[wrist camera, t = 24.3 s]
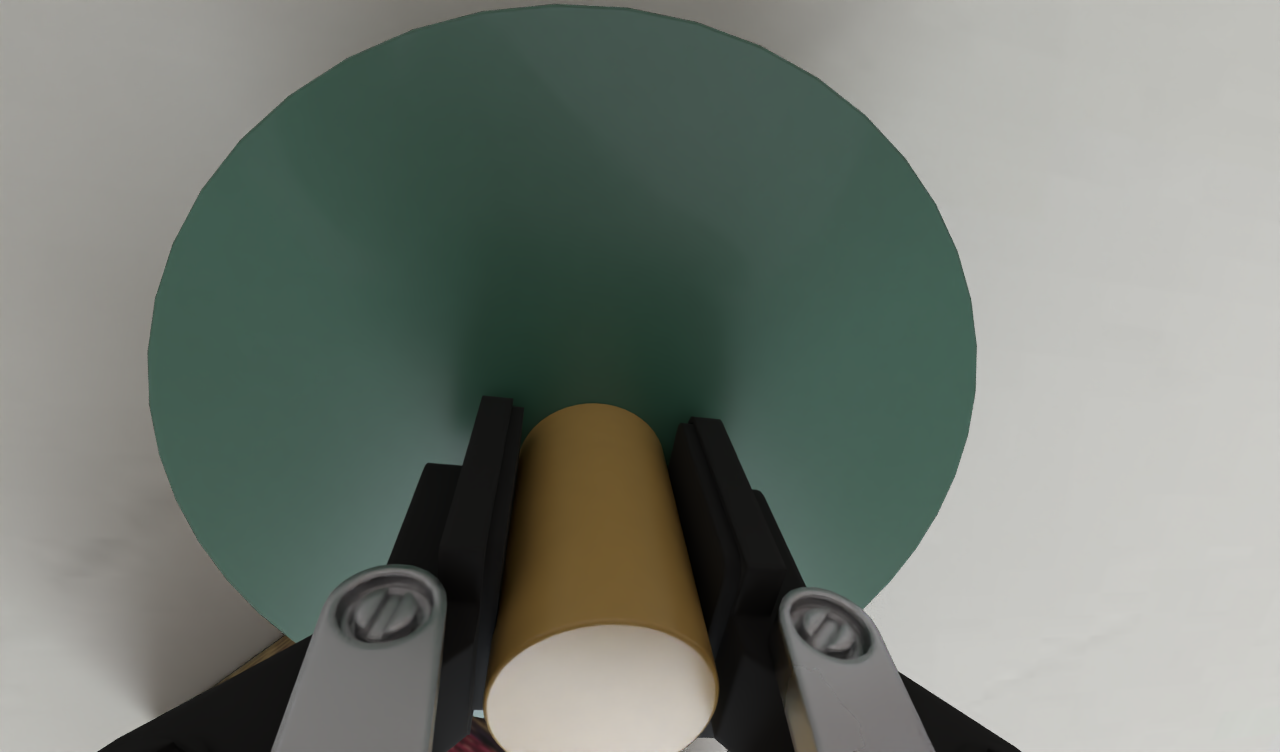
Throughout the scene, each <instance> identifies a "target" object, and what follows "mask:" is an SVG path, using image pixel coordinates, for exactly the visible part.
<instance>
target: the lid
mask: <svg viewBox="0 0 1280 752" xmlns="http://www.w3.org/2000/svg"><path fill="white" fill-rule="evenodd" d="M976 354H977V344H976V336H975V328H974V320H973V311H972V303H971V297H970V294H969V290H968V287H967V283H966V280H965V276H964V273H963V269H962V265H961V262H960V258H959V255H958V251H957V249H956V247H955V245H954V243H953V240H952V238H951V236H950V234H949V232H948V230H947V227H946V225H945V223H944V221H943V219H942V217H941V214H940V212H939V210H938V208H937V206H936V204H935V202H934V201H933V199H932V198H931V196H930V195H929V193H928V192H927V190H926V189H925V187H924V186H923V184H922V183H921V181H920V180H919V178H918V177H917V175H916V174H915V172H914V171H913V169H912V168H911V166H910V165H909V163H908V162H907V160H906V159H905V157H904V156H903V155H902V154H901V153H900V152H899V151H898V150H897V149H896V148H895V147H894V146H893V144H892V143H891V142H890V141H889V140H888V139H887V138H886V137H885V136H884V135H883V134H882V133H881V132H880V130H879V129H878V128H877V127H876V126H875V125H874V124H873V123H872V122H871V121H870V120H869V119H868V117H867V116H866V115H864V114H863V113H862V112H861V111H859V110H858V109H857V108H856V107H854V106H853V105H852V104H850V103H849V102H848V101H847V100H845V99H844V98H843V97H842V96H840V95H839V94H838V93H836V92H835V91H834V90H833V89H831V88H830V87H829V86H828V85H826V84H825V83H824V82H822V81H821V80H820V79H819V78H817V77H816V76H814V75H812V74H810V73H808V72H807V71H805V70H803V69H801V68H800V67H798V66H796V65H794V64H792V63H791V62H789V61H787V60H785V59H783V58H782V57H780V56H778V55H776V54H775V53H773V52H771V51H769V50H767V49H766V48H764V47H762V46H760V45H757V44H755V43H752V42H749V41H747V40H744V39H741V38H739V37H736V36H733V35H731V34H728V33H725V32H722V31H720V30H717V29H714V28H712V27H709V26H706V25H704V24H701V23H698V22H695V21H690V20H685V19H680V18H675V17H671V16H666V15H661V14H656V13H651V12H646V11H642V10H637V9H632V8H626V7H606V6H587V5H568V4H549V5H539V6H529V7H519V8H509V9H499V10H489V11H482V12H478V13H474V14H470V15H466V16H462V17H458V18H455V19H451V20H447V21H443V22H439V23H435V24H432V25H428V26H424V27H420V28H416V29H412V30H410V31H408V32H406V33H403V34H401V35H399V36H396V37H394V38H392V39H390V40H387V41H385V42H383V43H380V44H378V45H376V46H373V47H371V48H369V49H367V50H364V51H362V52H360V53H357V54H355V55H353V56H351V57H348V58H346V59H345V60H343V61H342V62H340V63H339V64H337V65H336V66H334V67H332V68H331V69H329V70H328V71H326V72H325V73H323V74H322V75H320V76H318V77H317V78H315V79H314V80H312V81H311V82H309V83H308V84H306V85H305V86H303V87H301V88H300V89H298V90H297V91H295V92H294V93H292V94H291V95H289V96H288V97H287V98H286V99H285V100H284V101H282V102H281V103H280V104H279V105H278V106H277V107H276V108H275V109H274V110H273V111H271V112H270V113H269V114H268V115H267V116H266V117H265V118H264V119H263V120H262V121H261V122H259V123H258V124H257V125H256V126H255V127H254V128H253V129H252V130H251V131H250V132H248V133H247V134H246V135H245V136H244V137H243V138H242V139H241V140H240V141H239V142H238V143H237V145H236V146H235V147H234V149H233V150H232V151H231V152H230V154H229V155H228V156H227V158H226V159H225V160H224V161H223V163H222V164H221V165H220V167H219V168H218V169H217V170H216V172H215V173H214V174H213V176H212V177H211V178H210V179H209V181H208V182H207V183H206V184H205V186H204V187H203V188H202V190H201V191H200V193H199V195H198V197H197V199H196V201H195V203H194V205H193V206H192V208H191V210H190V212H189V214H188V216H187V218H186V220H185V221H184V223H183V225H182V227H181V229H180V231H179V233H178V235H177V237H176V238H175V240H174V242H173V245H172V248H171V251H170V254H169V257H168V260H167V263H166V266H165V269H164V273H163V276H162V279H161V282H160V285H159V288H158V291H157V294H156V297H155V303H154V310H153V317H152V324H151V332H150V339H149V346H148V381H149V406H150V411H151V416H152V421H153V426H154V431H155V436H156V441H157V446H158V451H159V455H160V458H161V461H162V463H163V466H164V469H165V472H166V474H167V477H168V480H169V483H170V485H171V488H172V491H173V493H174V496H175V499H176V501H177V503H178V505H179V507H180V508H181V510H182V512H183V514H184V516H185V518H186V519H187V521H188V523H189V525H190V527H191V529H192V530H193V532H194V534H195V536H196V538H197V540H198V541H199V543H200V544H201V546H202V547H203V548H204V550H205V551H206V552H207V554H208V555H209V556H210V558H211V559H212V561H213V562H214V563H215V565H216V566H217V567H218V569H219V570H220V571H221V573H222V574H223V575H224V577H225V578H226V579H227V581H228V582H229V583H230V584H231V585H232V586H233V587H234V588H235V589H236V590H237V591H238V592H239V593H240V594H241V595H242V596H243V597H244V598H245V599H246V600H247V601H248V602H249V603H250V605H251V606H252V607H253V608H254V609H255V610H256V611H257V612H258V613H259V614H261V615H262V616H263V617H264V618H265V619H267V620H268V621H269V622H270V623H272V624H273V625H274V626H275V627H276V628H278V629H279V630H280V631H281V632H282V633H284V634H285V635H286V636H287V637H289V638H290V639H291V640H292V641H294V642H295V643H297V642H299V641H301V640H303V639H305V638H306V637H308V636H310V635H312V634H313V632H314V629H315V627H316V624H317V621H318V618H319V615H320V613H321V610H322V607H323V605H324V603H325V602H326V600H327V598H328V596H329V595H330V593H331V592H332V591H333V590H334V589H335V588H336V587H337V586H338V585H339V584H340V583H341V582H343V581H344V580H345V579H347V578H349V577H351V576H353V575H354V574H356V573H358V572H360V571H363V570H366V569H369V568H372V567H375V566H379V565H387V562H388V560H389V557H390V555H391V552H392V549H393V547H394V544H395V542H396V539H397V536H398V534H399V531H400V529H401V526H402V523H403V521H404V518H405V516H406V513H407V510H408V508H409V505H410V503H411V500H412V497H413V495H414V492H415V490H416V487H417V484H418V482H419V479H420V476H421V474H422V471H423V469H424V467H425V465H426V464H427V463H438V464H450V465H463V461H464V458H465V454H466V451H467V447H468V444H469V440H470V437H471V433H472V430H473V426H474V423H475V419H476V416H477V412H478V409H479V405H480V402H481V398H482V396H483V395H485V396H495V397H505V398H513V406H516V407H524V417H523V427H522V436H521V446H520V456H519V464H518V471H517V478H516V486H515V493H514V500H513V507H512V514H511V521H510V528H509V536H508V543H507V550H506V557H505V564H504V571H503V579H502V586H501V593H500V600H499V607H498V614H497V621H496V627H495V629H494V633H493V637H492V640H491V647H490V654H489V661H488V668H487V675H486V682H485V688H484V695H483V710H474V712H473V716H474V717H479V718H484V719H485V721H486V724H487V727H488V730H489V732H490V733H491V735H492V737H493V739H494V740H495V741H496V742H497V744H498V745H499V746H500V747H501V748H502V749H503V750H504V751H505V752H680V751H682V750H683V749H685V748H686V747H687V746H688V745H689V744H691V743H692V742H693V741H694V740H695V739H696V738H697V737H698V736H699V735H700V734H701V733H702V732H703V730H704V729H705V728H706V726H707V725H708V724H709V722H710V720H711V718H712V716H713V714H714V712H715V709H716V706H717V703H718V697H719V678H718V674H717V670H716V665H715V661H714V657H713V653H712V649H711V645H710V641H709V637H708V633H707V629H706V625H705V621H704V616H703V612H702V608H701V604H700V600H699V596H698V592H697V588H696V584H695V580H694V576H693V572H692V567H691V563H690V559H689V555H688V551H687V547H686V543H685V539H684V535H683V531H682V527H681V523H680V518H679V514H678V510H677V506H676V502H675V498H674V494H673V490H672V486H671V482H670V478H669V474H668V467H669V463H670V458H671V454H672V449H673V445H674V440H675V436H676V432H677V428H678V425H679V424H680V423H688V421H689V419H690V417H692V416H693V417H703V418H713V419H721V421H722V422H723V425H724V427H725V429H726V431H727V434H728V436H729V438H730V440H731V443H732V445H733V447H734V450H735V452H736V454H737V456H738V459H739V461H740V463H741V465H742V468H743V470H744V472H745V475H746V477H747V479H748V481H749V484H750V486H751V488H752V489H755V490H759V491H761V492H762V494H763V495H764V497H765V499H766V501H767V503H768V505H769V507H770V509H771V512H772V514H773V516H774V518H775V520H776V522H777V525H778V527H779V529H780V531H781V533H782V535H783V537H784V540H785V542H786V544H787V546H788V548H789V550H790V553H791V555H792V557H793V559H794V561H795V563H796V566H797V568H798V570H799V572H800V574H801V576H802V579H803V581H804V583H805V585H806V587H818V588H822V589H826V590H831V591H833V592H835V593H837V594H840V595H842V596H844V597H846V598H847V599H849V600H850V601H852V602H853V603H855V604H856V605H858V606H859V607H860V608H861V609H862V610H863V609H864V608H865V607H866V606H867V605H868V604H869V603H870V602H871V600H872V599H873V598H874V597H875V596H876V595H877V594H878V593H879V592H880V591H881V590H882V589H883V588H884V587H885V586H886V585H887V584H888V583H889V582H890V581H891V580H892V579H893V577H894V576H895V575H896V574H897V572H898V571H899V570H900V568H901V567H902V566H903V565H904V563H905V562H906V561H907V560H908V558H909V557H910V556H911V554H912V553H913V552H914V551H915V549H916V548H917V546H918V545H919V543H920V541H921V540H922V538H923V537H924V535H925V533H926V532H927V530H928V529H929V527H930V525H931V524H932V522H933V520H934V519H935V517H936V516H937V514H938V512H939V510H940V508H941V505H942V503H943V501H944V499H945V497H946V495H947V492H948V490H949V488H950V486H951V484H952V482H953V479H954V477H955V475H956V472H957V468H958V465H959V462H960V459H961V456H962V453H963V449H964V446H965V443H966V440H967V437H968V432H969V426H970V421H971V415H972V409H973V403H974V397H975V391H976Z"/></svg>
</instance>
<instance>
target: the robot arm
mask: <svg viewBox="0 0 1280 752" xmlns="http://www.w3.org/2000/svg"><path fill="white" fill-rule="evenodd" d="M523 417H524V407H516V406H513V398H505V397H495V396H485V395H483V396H482V398H481V402H480V405H479V409H478V412H477V416H476V419H475V423H474V426H473V430H472V433H471V437H470V440H469V444H468V447H467V451H466V454H465V458H464V461H463V465H450V464H438V463H427V464H426V465H425V467H424V469H423V471H422V474H421V476H420V479H419V482H418V484H417V487H416V490H415V492H414V495H413V497H412V500H411V503H410V505H409V508H408V510H407V513H406V516H405V518H404V521H403V523H402V526H401V529H400V531H399V534H398V536H397V539H396V542H395V544H394V547H393V549H392V552H391V555H390V557H389V560H388V562H387V565H379V566H375V567H372V568H369V569H366V570H363V571H360V572H358V573H356V574H354V575H353V576H351V577H349V578H347V579H345V580H344V581H343V582H341V583H340V584H339V585H338V586H337V587H336V588H335V589H334V590H333V591H332V592H331V593H330V595H329V596H328V598H327V600H326V602H325V603H324V605H323V607H322V610H321V613H320V615H319V618H318V621H317V624H316V627H315V629H314V632H313V634H312V635H310V636H308V637H306V638H305V639H303V640H301V641H299V642H297V643H295V644H293V645H292V646H290V647H288V648H286V649H284V650H282V651H280V652H278V653H277V654H275V655H273V656H271V657H269V658H267V659H265V660H264V661H262V662H260V663H258V664H256V665H254V666H252V667H250V668H249V669H247V670H245V671H243V672H241V673H239V674H237V675H236V676H234V677H232V678H230V679H228V680H226V681H224V682H222V683H221V684H219V685H217V686H215V687H213V688H211V689H209V690H208V691H206V692H204V693H202V694H200V695H198V696H196V697H194V698H193V699H191V700H189V701H187V702H185V703H183V704H181V705H180V706H178V707H176V708H174V709H172V710H170V711H168V712H166V713H165V714H163V715H161V716H159V717H157V718H155V719H153V720H152V721H150V722H148V723H146V724H144V725H142V726H140V727H138V728H137V729H135V730H133V731H131V732H129V733H127V734H125V735H124V736H122V737H120V738H118V739H116V740H115V741H113V742H112V743H110V744H109V745H107V746H106V747H104V748H102V749H101V750H99V751H98V752H447V751H448V750H450V749H451V748H452V747H453V746H455V745H456V744H457V743H458V742H460V741H461V740H462V739H463V738H465V737H466V736H467V735H470V731H471V725H472V718H473V712H474V710H483V695H484V688H485V682H486V675H487V668H488V661H489V654H490V647H491V640H492V637H493V633H494V629H495V627H496V621H497V614H498V607H499V600H500V593H501V586H502V579H503V571H504V564H505V557H506V550H507V543H508V536H509V528H510V521H511V514H512V507H513V500H514V493H515V486H516V478H517V471H518V464H519V456H520V446H521V436H522V427H523ZM668 474H669V478H670V482H671V486H672V490H673V494H674V498H675V502H676V506H677V510H678V514H679V518H680V523H681V527H682V531H683V535H684V539H685V543H686V547H687V551H688V555H689V559H690V563H691V567H692V572H693V576H694V580H695V584H696V588H697V592H698V596H699V600H700V604H701V608H702V612H703V616H704V621H705V625H706V629H707V633H708V637H709V641H710V645H711V649H712V653H713V657H714V661H715V665H716V670H717V674H718V678H719V697H718V703H717V706H716V709H715V712H714V714H713V716H712V718H711V720H710V722H709V724H708V725H707V726H706V728H705V729H704V730H703V732H702V733H701V734H700V735H699V736H698V737H697V738H715V739H716V740H717V741H718V742H719V743H720V744H722V745H723V746H724V747H725V748H726V749H728V751H727V752H1021V751H1020V750H1018V749H1017V748H1016V747H1014V746H1013V745H1011V744H1010V743H1008V742H1007V741H1005V740H1003V739H1002V738H1000V737H999V736H997V735H996V734H994V733H993V732H991V731H990V730H988V729H986V728H985V727H983V726H982V725H980V724H979V723H977V722H976V721H974V720H973V719H971V718H969V717H968V716H966V715H965V714H963V713H962V712H960V711H959V710H957V709H956V708H954V707H952V706H951V705H949V704H948V703H946V702H945V701H943V700H942V699H940V698H939V697H937V696H935V695H934V694H932V693H931V692H929V691H928V690H926V689H925V688H923V687H922V686H920V685H919V684H917V683H915V682H914V681H912V680H911V679H909V678H908V677H906V676H905V675H903V674H902V673H900V672H898V671H897V668H896V666H895V664H894V662H893V660H892V658H891V656H890V653H889V651H888V649H887V647H886V645H885V643H884V641H883V638H882V636H881V634H880V632H879V630H878V628H877V627H876V625H875V624H874V622H873V621H872V619H871V618H870V617H869V616H868V615H867V614H866V613H865V612H864V611H863V610H862V609H861V608H860V607H859V606H858V605H856V604H855V603H853V602H852V601H850V600H849V599H847V598H846V597H844V596H842V595H840V594H837V593H835V592H833V591H831V590H826V589H822V588H818V587H806V585H805V583H804V581H803V579H802V576H801V574H800V572H799V570H798V568H797V566H796V563H795V561H794V559H793V557H792V555H791V553H790V550H789V548H788V546H787V544H786V542H785V540H784V537H783V535H782V533H781V531H780V529H779V527H778V525H777V522H776V520H775V518H774V516H773V514H772V512H771V509H770V507H769V505H768V503H767V501H766V499H765V497H764V495H763V494H762V492H761V491H759V490H755V489H752V488H751V486H750V484H749V481H748V479H747V477H746V475H745V472H744V470H743V468H742V465H741V463H740V461H739V459H738V456H737V454H736V452H735V450H734V447H733V445H732V443H731V440H730V438H729V436H728V434H727V431H726V429H725V427H724V425H723V422H722V421H721V419H713V418H703V417H693V416H692V417H690V419H689V421H688V423H680V424H679V425H678V428H677V432H676V436H675V440H674V445H673V449H672V454H671V458H670V463H669V467H668Z"/></svg>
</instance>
